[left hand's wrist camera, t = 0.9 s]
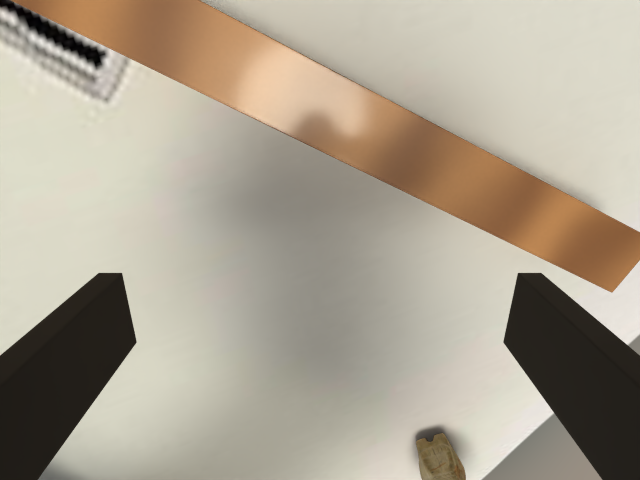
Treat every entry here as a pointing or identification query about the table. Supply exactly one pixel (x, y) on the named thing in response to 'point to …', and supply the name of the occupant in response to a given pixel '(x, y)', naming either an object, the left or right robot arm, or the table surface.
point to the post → (354, 127)
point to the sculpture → (439, 460)
